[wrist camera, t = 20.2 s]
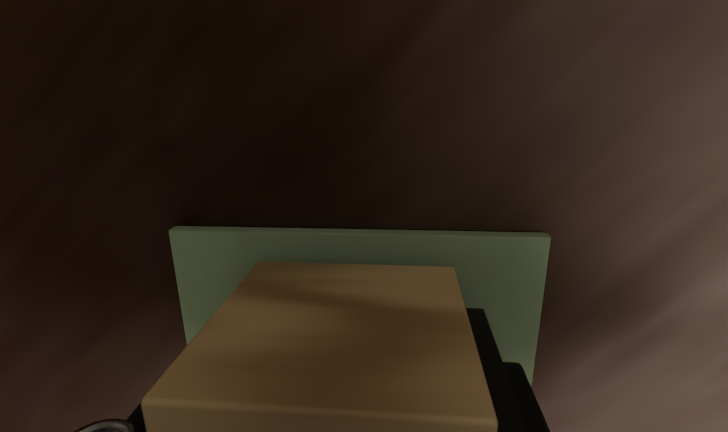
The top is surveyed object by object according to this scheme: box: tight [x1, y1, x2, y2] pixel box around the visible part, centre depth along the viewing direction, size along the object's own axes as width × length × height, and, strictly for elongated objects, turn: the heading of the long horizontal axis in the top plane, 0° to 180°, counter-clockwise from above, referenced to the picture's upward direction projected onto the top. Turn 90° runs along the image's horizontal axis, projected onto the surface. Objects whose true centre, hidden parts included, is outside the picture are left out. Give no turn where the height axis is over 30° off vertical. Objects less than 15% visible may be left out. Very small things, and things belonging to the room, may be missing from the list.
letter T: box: [141, 262, 498, 432], centre depth 9 cm, size 5×5×5 cm
